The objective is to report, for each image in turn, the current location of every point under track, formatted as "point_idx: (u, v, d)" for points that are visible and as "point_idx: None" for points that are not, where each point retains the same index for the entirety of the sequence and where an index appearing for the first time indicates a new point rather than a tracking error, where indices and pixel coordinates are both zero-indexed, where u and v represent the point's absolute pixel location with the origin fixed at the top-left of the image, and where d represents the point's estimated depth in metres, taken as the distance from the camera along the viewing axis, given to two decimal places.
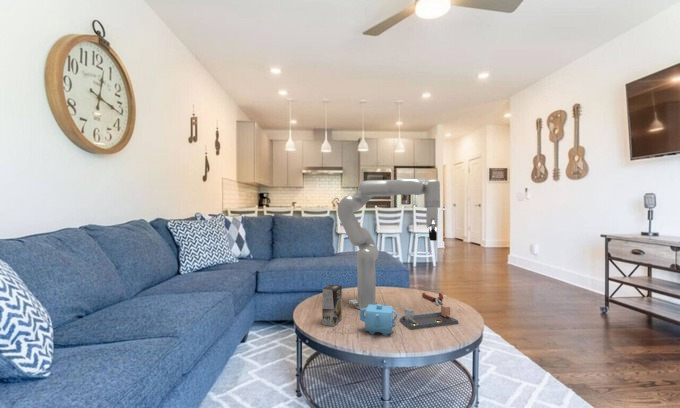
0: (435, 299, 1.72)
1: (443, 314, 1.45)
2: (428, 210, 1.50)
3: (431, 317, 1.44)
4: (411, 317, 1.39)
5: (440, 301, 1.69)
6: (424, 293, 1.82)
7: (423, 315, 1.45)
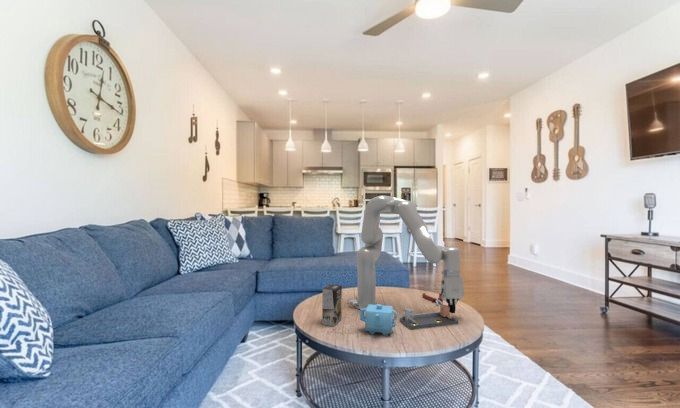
0: (435, 299, 1.71)
1: (442, 314, 1.45)
2: None
3: (431, 317, 1.44)
4: (411, 317, 1.39)
5: (440, 302, 1.68)
6: (424, 293, 1.81)
7: (423, 315, 1.45)
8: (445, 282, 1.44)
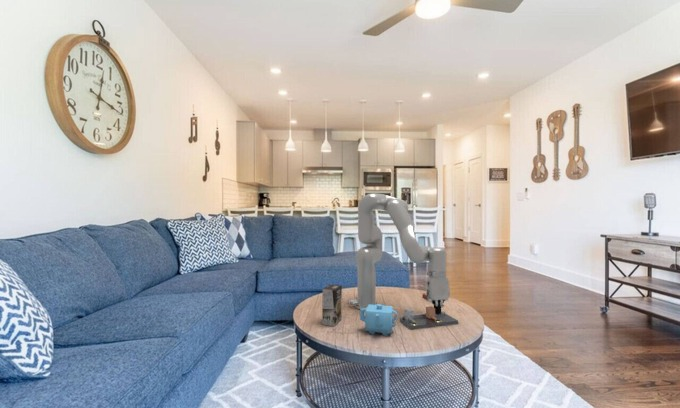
0: None
1: (428, 316, 1.43)
2: None
3: None
4: (411, 317, 1.39)
5: None
6: (424, 294, 1.81)
7: (423, 315, 1.45)
8: (430, 283, 1.42)
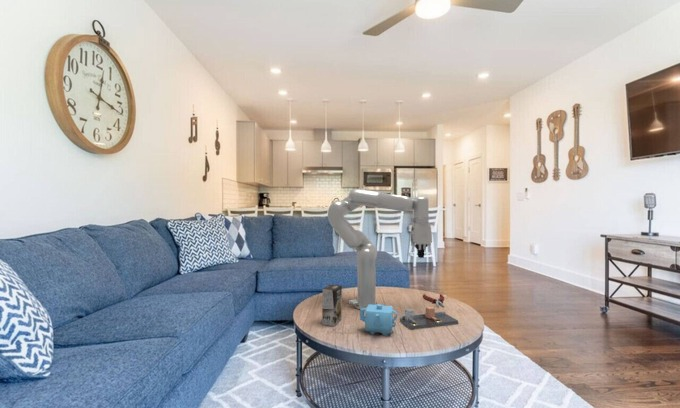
0: (436, 300, 1.70)
1: (427, 316, 1.43)
2: None
3: None
4: (411, 317, 1.39)
5: (441, 302, 1.66)
6: None
7: (423, 315, 1.45)
8: (414, 229, 1.55)
